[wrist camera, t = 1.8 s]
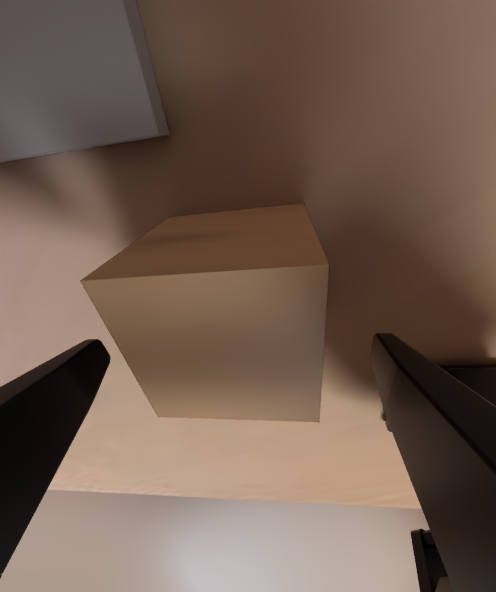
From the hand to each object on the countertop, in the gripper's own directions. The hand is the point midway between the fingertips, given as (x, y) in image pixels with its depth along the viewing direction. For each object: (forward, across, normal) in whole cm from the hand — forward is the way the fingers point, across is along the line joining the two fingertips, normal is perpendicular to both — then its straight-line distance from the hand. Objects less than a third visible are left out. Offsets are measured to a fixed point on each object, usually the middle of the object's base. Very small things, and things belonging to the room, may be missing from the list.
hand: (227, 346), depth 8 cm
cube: (+5, 0, 0) cm, 5 cm away
